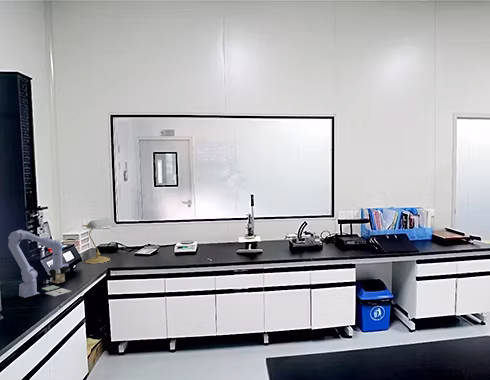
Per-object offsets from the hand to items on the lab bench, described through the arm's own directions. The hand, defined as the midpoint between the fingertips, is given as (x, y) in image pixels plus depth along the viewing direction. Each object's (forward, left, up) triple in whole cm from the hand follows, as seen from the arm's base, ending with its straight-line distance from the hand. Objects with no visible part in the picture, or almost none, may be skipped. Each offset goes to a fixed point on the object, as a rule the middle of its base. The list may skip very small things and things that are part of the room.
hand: (58, 279), depth 230 cm
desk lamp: (+70, +55, -9) cm, 89 cm away
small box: (+14, +28, -9) cm, 33 cm away
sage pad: (+2, +13, -9) cm, 16 cm away
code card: (0, 0, -9) cm, 9 cm away
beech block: (0, 0, -2) cm, 2 cm away
